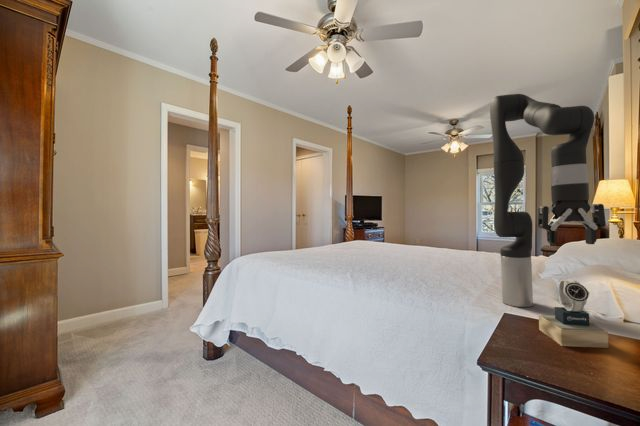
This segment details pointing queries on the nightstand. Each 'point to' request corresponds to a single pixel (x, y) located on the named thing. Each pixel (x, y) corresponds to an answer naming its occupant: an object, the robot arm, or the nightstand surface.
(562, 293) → the watch
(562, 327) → the oak riser
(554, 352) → the nightstand surface
